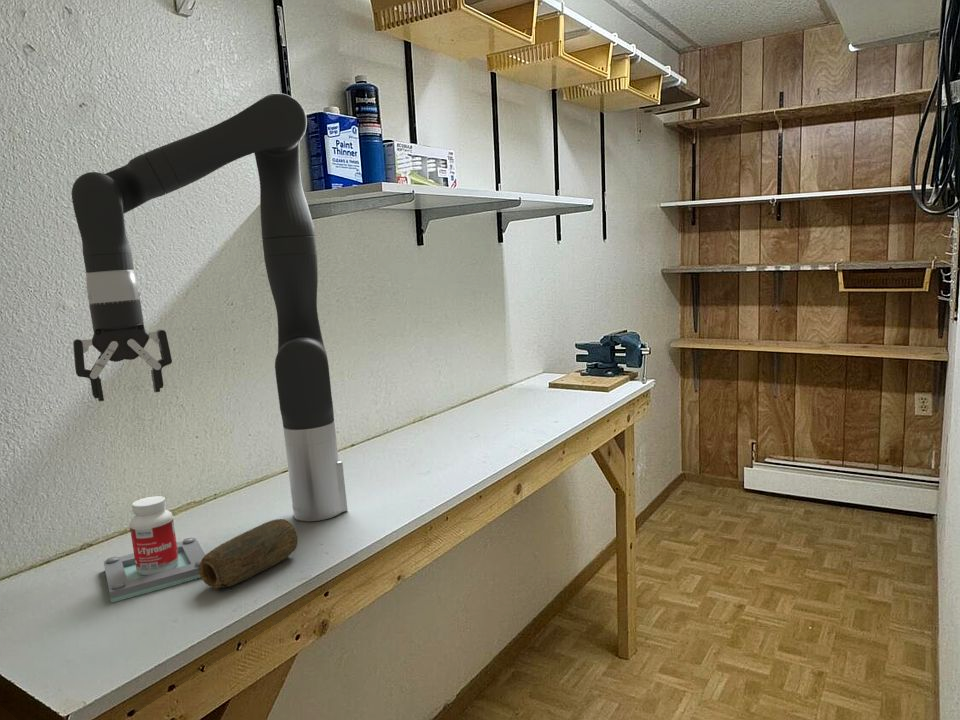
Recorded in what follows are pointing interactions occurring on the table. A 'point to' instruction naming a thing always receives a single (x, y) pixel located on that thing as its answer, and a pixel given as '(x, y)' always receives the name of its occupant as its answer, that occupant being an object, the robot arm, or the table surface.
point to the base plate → (131, 583)
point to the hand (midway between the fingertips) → (129, 396)
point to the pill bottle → (153, 536)
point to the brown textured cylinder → (248, 554)
